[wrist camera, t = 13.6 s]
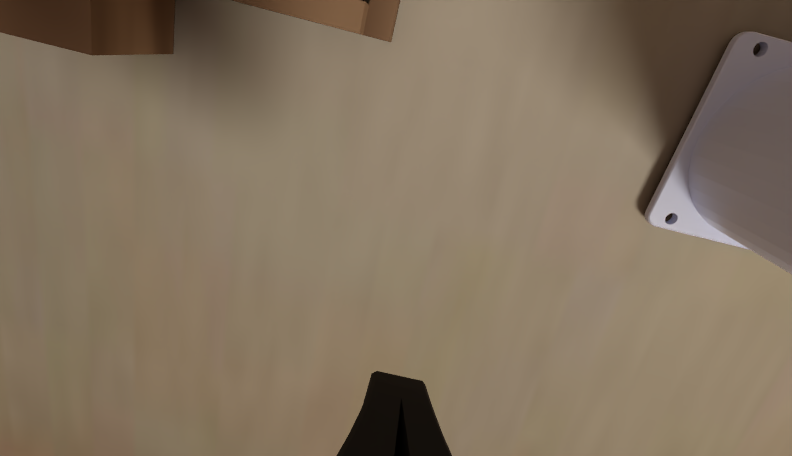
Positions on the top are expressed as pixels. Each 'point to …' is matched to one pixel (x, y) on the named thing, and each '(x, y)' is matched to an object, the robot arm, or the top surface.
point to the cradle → (166, 21)
